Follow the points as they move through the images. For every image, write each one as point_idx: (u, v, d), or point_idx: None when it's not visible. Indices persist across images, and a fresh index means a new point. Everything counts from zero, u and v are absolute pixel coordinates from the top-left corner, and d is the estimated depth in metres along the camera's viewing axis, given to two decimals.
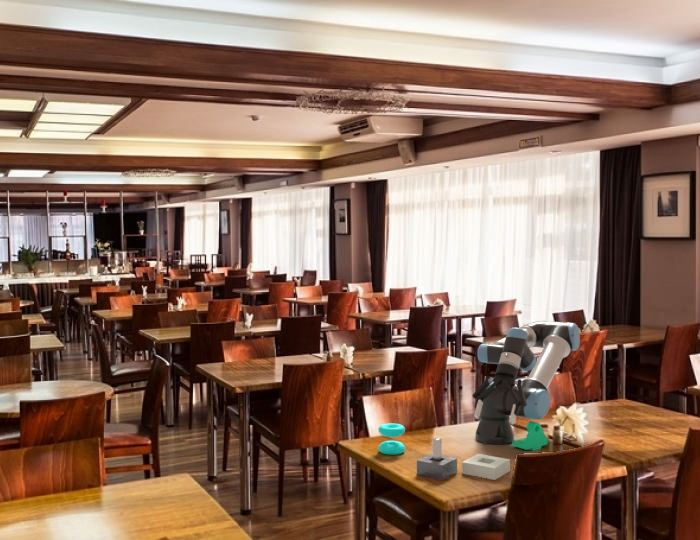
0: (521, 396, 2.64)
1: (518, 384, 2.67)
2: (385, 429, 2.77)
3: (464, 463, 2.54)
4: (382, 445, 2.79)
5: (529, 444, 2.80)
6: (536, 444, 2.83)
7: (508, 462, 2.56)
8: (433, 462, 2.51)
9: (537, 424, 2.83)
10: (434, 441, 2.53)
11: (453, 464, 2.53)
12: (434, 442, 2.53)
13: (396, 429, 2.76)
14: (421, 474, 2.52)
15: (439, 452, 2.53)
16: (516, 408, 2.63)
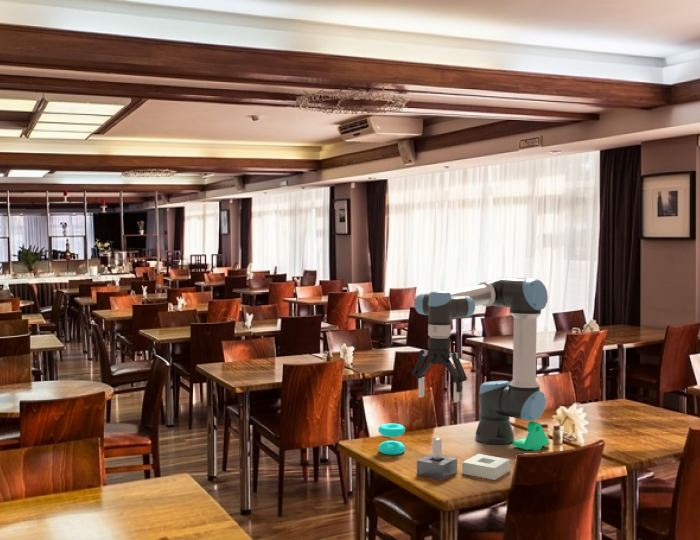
0: (459, 373, 2.47)
1: (453, 359, 2.49)
2: (385, 429, 2.77)
3: (464, 463, 2.54)
4: (382, 445, 2.79)
5: (530, 444, 2.80)
6: (537, 444, 2.82)
7: (508, 462, 2.56)
8: (433, 462, 2.51)
9: (537, 424, 2.82)
10: (434, 441, 2.53)
11: (453, 464, 2.53)
12: (434, 442, 2.53)
13: (396, 429, 2.76)
14: (421, 474, 2.52)
15: (439, 452, 2.53)
16: (457, 386, 2.48)
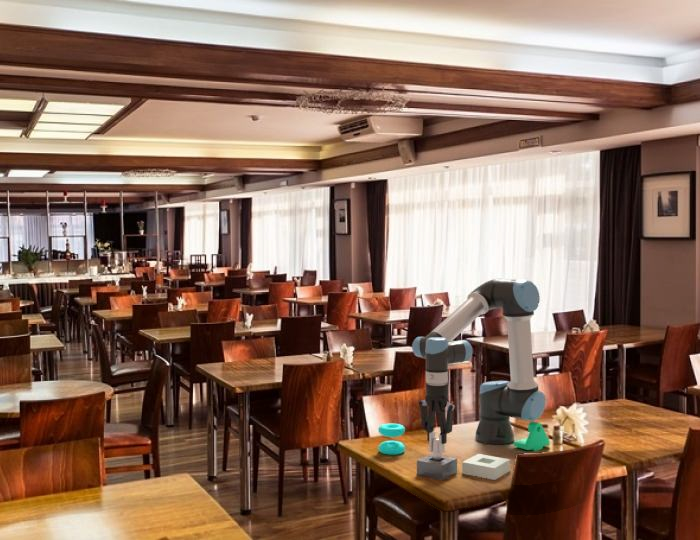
0: (447, 425, 2.50)
1: (448, 410, 2.50)
2: (385, 429, 2.77)
3: (464, 463, 2.54)
4: (382, 445, 2.79)
5: (531, 444, 2.80)
6: (537, 444, 2.82)
7: (508, 462, 2.56)
8: (433, 462, 2.51)
9: (538, 424, 2.82)
10: (434, 441, 2.53)
11: (453, 464, 2.53)
12: (434, 442, 2.53)
13: (396, 429, 2.76)
14: (421, 474, 2.52)
15: None
16: (442, 438, 2.52)
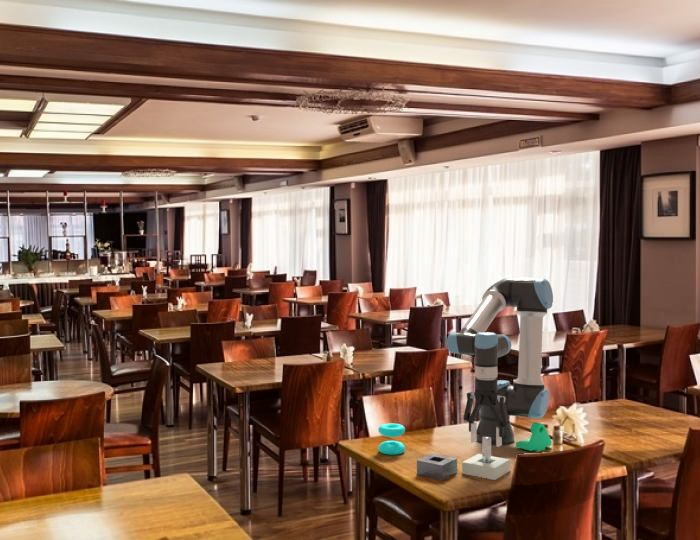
0: (503, 418, 2.50)
1: (500, 403, 2.50)
2: (385, 429, 2.77)
3: (464, 463, 2.54)
4: (382, 445, 2.79)
5: (533, 445, 2.79)
6: (540, 445, 2.81)
7: (508, 462, 2.56)
8: (433, 462, 2.51)
9: (541, 425, 2.81)
10: (484, 440, 2.54)
11: (453, 464, 2.53)
12: (484, 441, 2.54)
13: (396, 429, 2.76)
14: (421, 474, 2.52)
15: (489, 451, 2.54)
16: (500, 431, 2.51)
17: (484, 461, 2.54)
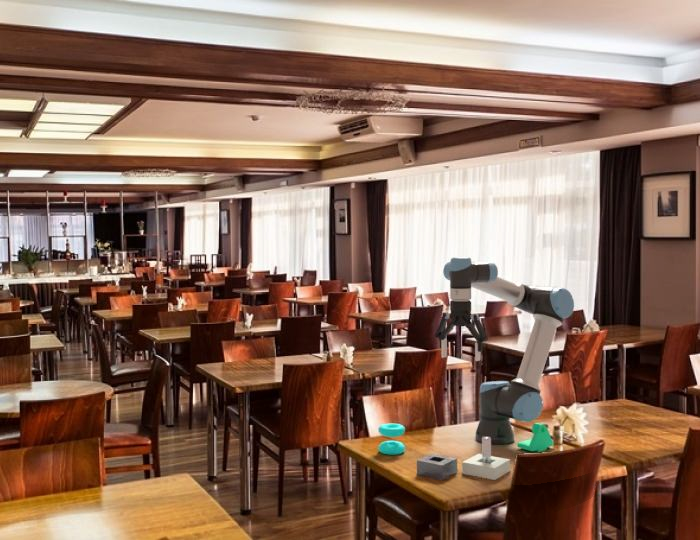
0: (480, 333, 2.62)
1: (474, 320, 2.64)
2: (385, 429, 2.77)
3: (464, 463, 2.54)
4: (382, 445, 2.79)
5: (535, 445, 2.78)
6: (542, 445, 2.81)
7: (508, 462, 2.56)
8: (433, 462, 2.51)
9: (543, 425, 2.81)
10: (484, 440, 2.54)
11: (453, 464, 2.53)
12: (484, 441, 2.54)
13: (396, 429, 2.76)
14: (421, 474, 2.52)
15: (488, 451, 2.54)
16: (479, 346, 2.63)
17: (484, 461, 2.54)
